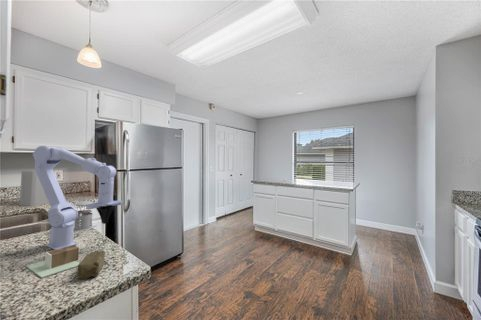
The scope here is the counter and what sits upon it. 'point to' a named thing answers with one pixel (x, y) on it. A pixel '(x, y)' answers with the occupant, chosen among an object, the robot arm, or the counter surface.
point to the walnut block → (61, 256)
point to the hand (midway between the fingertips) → (104, 223)
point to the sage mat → (44, 271)
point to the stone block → (91, 265)
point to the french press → (83, 216)
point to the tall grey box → (31, 190)
